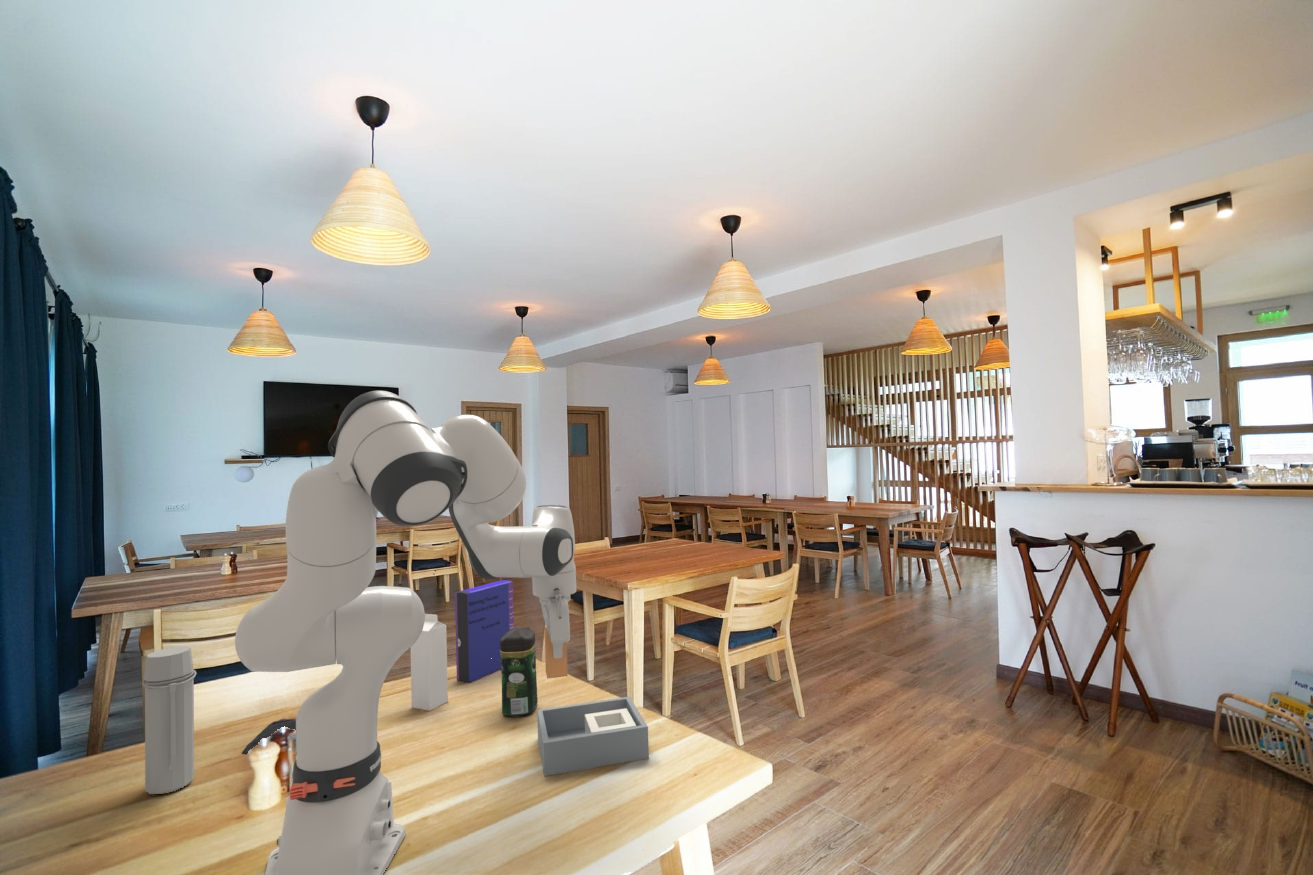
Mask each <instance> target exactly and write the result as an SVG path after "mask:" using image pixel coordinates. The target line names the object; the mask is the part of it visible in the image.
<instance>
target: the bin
mask: <svg viewBox="0 0 1313 875" xmlns="http://www.w3.org/2000/svg"><path fill="white" fill-rule="evenodd" d="M625 708H627V710H628V712H629V714H630V715H631V717H632V719H633V721H634V722H635V724H636V726H634V727H628V728H621V729H615V730H609V731H602V732H596V733H590V734H585V714H591V713H598V712H605V711H612V710H618V709H625ZM536 712H537V713H536V714H537V716H536V717H537V718H536V720H537V740H538V745H539V746H538V747H539V751H540V758H541V764H542V769H543V774H544V775H543V776H544V777H547V776H554V775H558V774H565V773H571V772H576V771H582V770H589V769H595V768H600V767H605V766H611V765H618V764H622V763H628V762H633V761H634V762H635V761H640V760H646V759H650V753H649V752H650V751H649V749H650V748H649V726H648V724H647V722H646V721H645V720H644V717H643V716H642V715H641V713H640V711H639V709H638V708H637V707H636V705H635V703H634V701H633V699H632V698H631V696H623V697H617V698H610V699H605V700H604V699H603V700H597V701H590V702H581V703H575V704H569V705H561V706H554V707H548V708H547V707H546V708H541V709H536Z"/></svg>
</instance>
